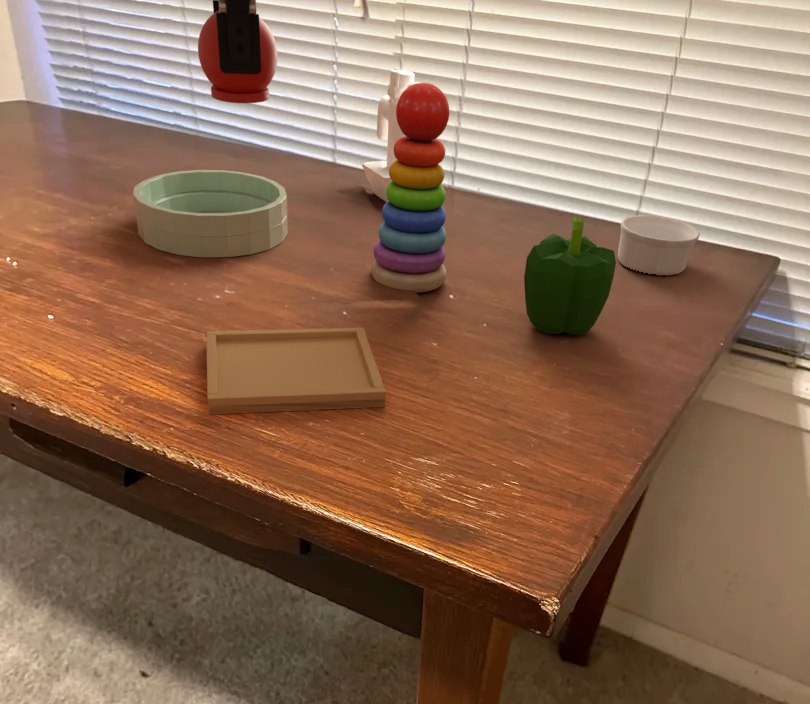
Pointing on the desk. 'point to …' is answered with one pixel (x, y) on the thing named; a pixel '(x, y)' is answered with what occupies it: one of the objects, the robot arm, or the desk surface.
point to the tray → (291, 370)
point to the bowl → (211, 213)
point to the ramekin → (656, 244)
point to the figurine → (388, 131)
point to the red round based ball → (237, 85)
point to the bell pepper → (567, 282)
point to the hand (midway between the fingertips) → (238, 62)
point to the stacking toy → (415, 196)
